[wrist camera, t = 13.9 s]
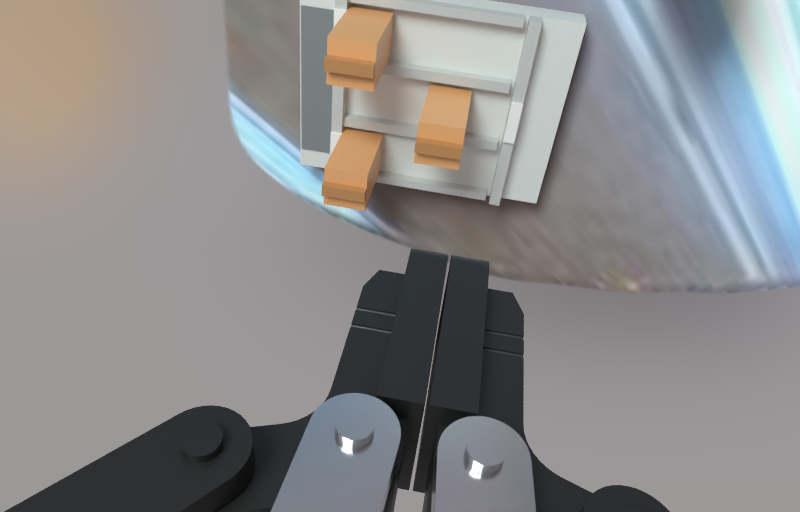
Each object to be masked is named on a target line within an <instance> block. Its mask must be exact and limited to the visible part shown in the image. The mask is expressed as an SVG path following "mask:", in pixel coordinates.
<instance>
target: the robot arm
mask: <svg viewBox="0 0 800 512" xmlns="http://www.w3.org/2000/svg"><path fill="white" fill-rule="evenodd" d="M447 261H448V255H447V254H441V253H435V252H429V251H423V250H417V249H411V252H410V256H409V260H408V264H407V268H406V272H405V274H400V273H394V272H388V271H382V270H379V271H378V272H377V273H376V274H375V275H374V276H373V277H372V278H371V279H370V280H369V281H368V282H367V283H366V284H365V285H364V286H363V289H362V292H361V295H360V298H359V301H358V305H357V309H356V311H355V314H354V317H353V321H352V325H351V328H350V331H349V333H348V337H347V340H346V343H345V346H344V349H343V353H342V356H341V359H340V362H339V365H338V369H337V372H336V375H335V378H334V381H333V385H332V388H331V391H330V393H329V395H328V397H327V398H326V400H325V401H324V403H322V404H321V405H320V406H319V407H318V408H317V409H316V410H315V411H314V412H313V413H311V414H309V415H308V416H306V417H304V418H302V419H299V420H297V421H293V422H290V423H284V424H277V425H267V426H257V427H249V425H248V423H247V422H246V420H245V419H244V418H243V417H242V416H241V415H240V414H238V413H236V412H235V411H233V410H231V409H228V408H225V407H221V406H201V407H196V408H192V409H189V410H186V411H184V412H182V413H180V414H178V415H176V416H174V417H173V418H171V419H169V420H167V421H165V422H164V423H162V424H160V425H159V426H157V427H155V428H153V429H151V430H150V431H148V432H146V433H144V434H142V435H140V436H139V437H137V438H135V439H133V440H132V441H130V442H128V443H126V444H124V445H123V446H121V447H119V448H117V449H115V450H114V451H112V452H110V453H108V454H106V455H105V456H103V457H101V458H100V459H98V460H96V461H94V462H92V463H90V464H89V465H87V466H85V467H83V468H81V469H80V470H78V471H76V472H74V473H73V474H71V475H69V476H67V477H65V478H64V479H62V480H60V481H58V482H57V483H55V484H53V485H51V486H49V487H48V488H46V489H44V490H42V491H40V492H39V493H37V494H35V495H33V496H31V497H30V498H28V499H26V500H24V501H23V502H21V503H19V504H17V505H16V506H14V507H12V508H10V509H8V510H6V511H5V512H393V511H394V506H395V500H396V494H397V489H398V488H400V489H405V490H409V487H410V481H411V475H412V471H413V465H414V460H415V454H416V448H417V443H418V438H419V433H420V428H421V422H422V417H423V412H424V406H425V400H426V393H427V387H428V381H429V375H430V369H431V362H432V356H433V349H434V343H435V337H436V331H437V324H438V317H439V311H440V305H441V299H442V293H443V286H444V280H445V274H446V267H447ZM488 277H489V261H483V260H477V259H471V258H465V257H459V256H454V255H452V256H451V261H450V267H449V272H448V278H447V283H446V289H445V294H444V299H443V305H442V311H441V316H440V321H439V327H438V333H437V339H436V345H435V352H434V358H433V364H432V371H431V377H430V384H429V390H428V397H427V403H426V409H425V416H424V422H423V429H422V435H421V442H420V448H419V455H418V461H417V467H416V474H415V480H414V486H413V491H417V492H422V493H425V497H424V504H423V511H422V512H669V510H667V508H666V507H665V506H663V505H662V504H661V503H660V502H659V501H657V500H656V499H655V498H653V497H652V496H650V495H648V494H647V493H645V492H643V491H641V490H638V489H636V488H632V487H628V486H622V485H612V486H607V487H603V488H601V489H599V490H597V491H596V492H594V493H591V492H589V491H587V490H585V489H583V488H581V487H579V486H577V485H575V484H573V483H571V482H569V481H567V480H565V479H563V478H562V477H560V476H558V475H556V474H555V473H553V472H552V471H551V470H549V469H548V468H547V467H545V466H544V465H543V464H542V463H541V462H540V461H539V460H538V458H537V457H536V456H535V455H534V454H533V452H532V450H531V449H530V447H529V445H528V443H527V440H526V438H525V434H524V428H523V353H524V350H523V349H524V341H523V336H524V331H523V330H524V314H523V312H522V310H521V308H520V306H519V304H518V302H517V300H516V299H515V297H514V295H513V293H510V292H503V291H499V290H492V289H488Z"/></svg>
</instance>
